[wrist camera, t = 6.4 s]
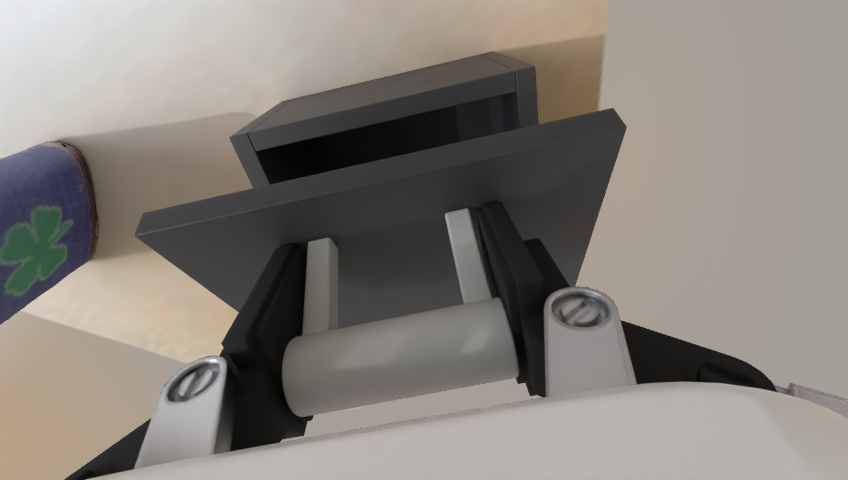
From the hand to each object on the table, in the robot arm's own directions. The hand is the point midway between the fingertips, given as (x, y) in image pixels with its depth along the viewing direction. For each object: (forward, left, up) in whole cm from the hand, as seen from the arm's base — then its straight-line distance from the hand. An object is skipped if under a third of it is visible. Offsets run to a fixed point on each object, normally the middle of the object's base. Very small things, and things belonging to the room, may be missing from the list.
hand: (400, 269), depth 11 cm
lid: (+4, 0, -3) cm, 5 cm away
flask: (0, -22, -14) cm, 26 cm away
